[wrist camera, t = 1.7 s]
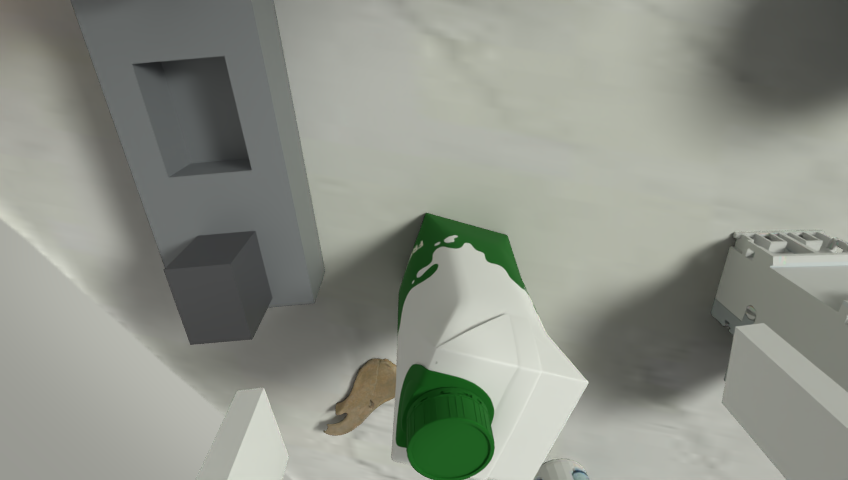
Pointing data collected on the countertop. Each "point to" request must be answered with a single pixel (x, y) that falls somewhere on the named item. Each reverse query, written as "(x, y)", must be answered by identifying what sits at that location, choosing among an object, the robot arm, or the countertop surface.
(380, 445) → the countertop surface
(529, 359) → the milk carton
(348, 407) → the jawbone
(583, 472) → the spray can
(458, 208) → the countertop surface
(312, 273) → the power strip
